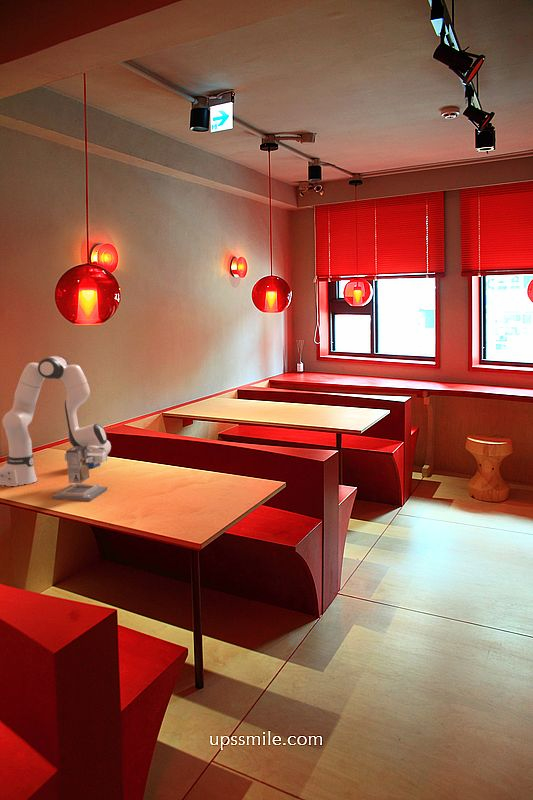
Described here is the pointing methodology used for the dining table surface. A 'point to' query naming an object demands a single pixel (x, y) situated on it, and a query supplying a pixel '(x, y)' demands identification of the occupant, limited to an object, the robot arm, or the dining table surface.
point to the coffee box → (77, 464)
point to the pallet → (80, 492)
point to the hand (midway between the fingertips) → (77, 460)
